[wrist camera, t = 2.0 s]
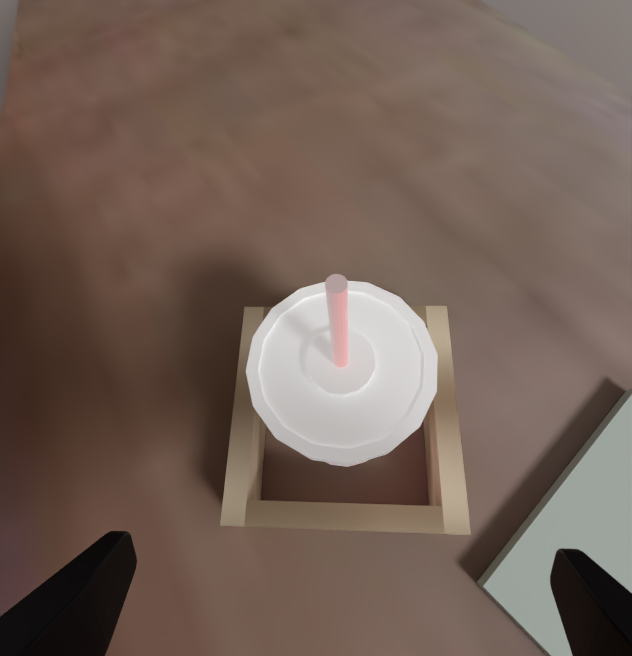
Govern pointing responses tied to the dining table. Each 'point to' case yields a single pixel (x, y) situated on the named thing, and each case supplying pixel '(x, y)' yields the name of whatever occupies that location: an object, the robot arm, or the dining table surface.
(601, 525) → the ceramic coaster
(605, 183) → the dining table surface
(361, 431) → the beverage cup
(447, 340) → the maple collar
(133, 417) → the dining table surface
